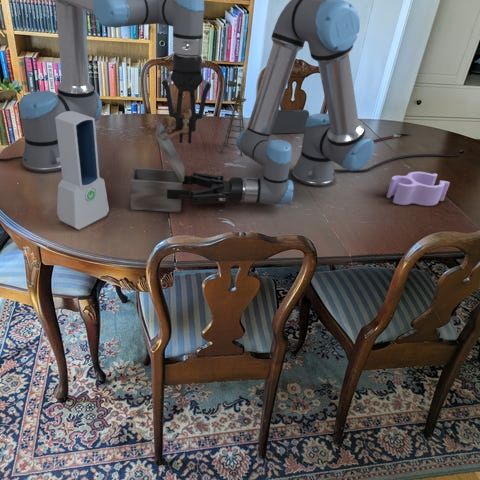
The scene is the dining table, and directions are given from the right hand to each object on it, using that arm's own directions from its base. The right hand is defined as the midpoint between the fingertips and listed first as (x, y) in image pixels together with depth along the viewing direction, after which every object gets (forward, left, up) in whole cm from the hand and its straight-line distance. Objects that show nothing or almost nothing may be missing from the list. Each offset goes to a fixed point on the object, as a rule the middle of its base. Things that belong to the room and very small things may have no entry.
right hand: (168, 186), depth 140 cm
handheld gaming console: (-72, -44, -6) cm, 85 cm away
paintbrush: (-117, -24, -6) cm, 120 cm away
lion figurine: (-27, -58, -6) cm, 65 cm away
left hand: (-4, +2, +15) cm, 15 cm away
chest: (+3, -1, -6) cm, 7 cm away
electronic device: (+25, 0, -6) cm, 26 cm away
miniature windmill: (-41, -32, -6) cm, 52 cm away
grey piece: (0, 0, +11) cm, 11 cm away
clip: (-82, +24, -6) cm, 86 cm away
